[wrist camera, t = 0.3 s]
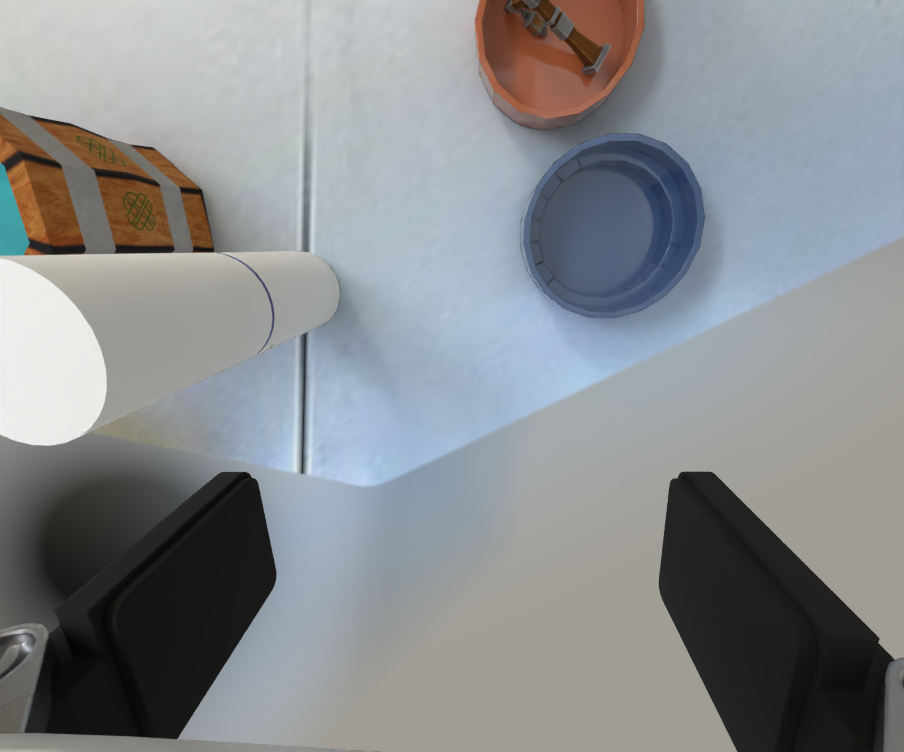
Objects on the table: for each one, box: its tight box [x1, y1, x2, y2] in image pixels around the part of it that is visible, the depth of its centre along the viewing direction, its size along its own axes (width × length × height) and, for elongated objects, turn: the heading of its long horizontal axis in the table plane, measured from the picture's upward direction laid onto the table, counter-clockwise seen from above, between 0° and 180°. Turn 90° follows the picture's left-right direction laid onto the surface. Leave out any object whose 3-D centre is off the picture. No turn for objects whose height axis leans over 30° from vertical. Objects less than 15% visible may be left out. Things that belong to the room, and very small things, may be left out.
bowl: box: [520, 133, 705, 318], centre depth 33 cm, size 13×13×4 cm
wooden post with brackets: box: [504, 0, 611, 75], centre depth 30 cm, size 2×8×4 cm, turn 61°
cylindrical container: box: [0, 251, 340, 445], centre depth 27 cm, size 7×7×25 cm
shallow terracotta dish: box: [475, 0, 644, 130], centre depth 30 cm, size 11×11×3 cm
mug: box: [0, 107, 214, 256], centre depth 31 cm, size 20×14×15 cm
